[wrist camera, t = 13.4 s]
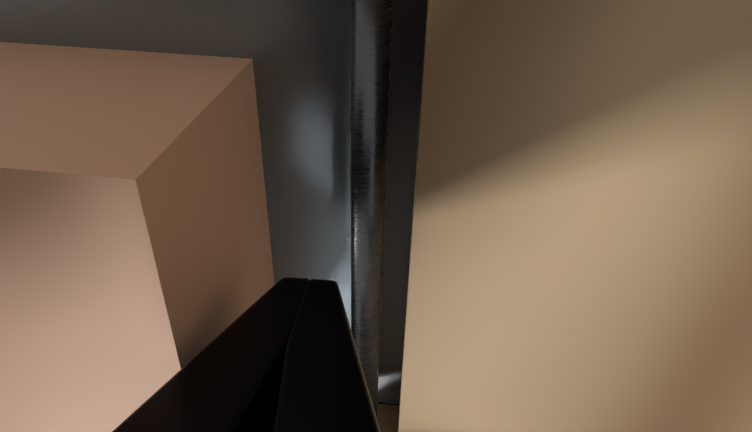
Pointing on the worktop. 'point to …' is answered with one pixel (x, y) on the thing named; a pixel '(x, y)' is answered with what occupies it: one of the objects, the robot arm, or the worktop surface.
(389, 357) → the worktop surface
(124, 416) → the block
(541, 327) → the square wooden tray
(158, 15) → the tailgate
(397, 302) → the worktop surface
